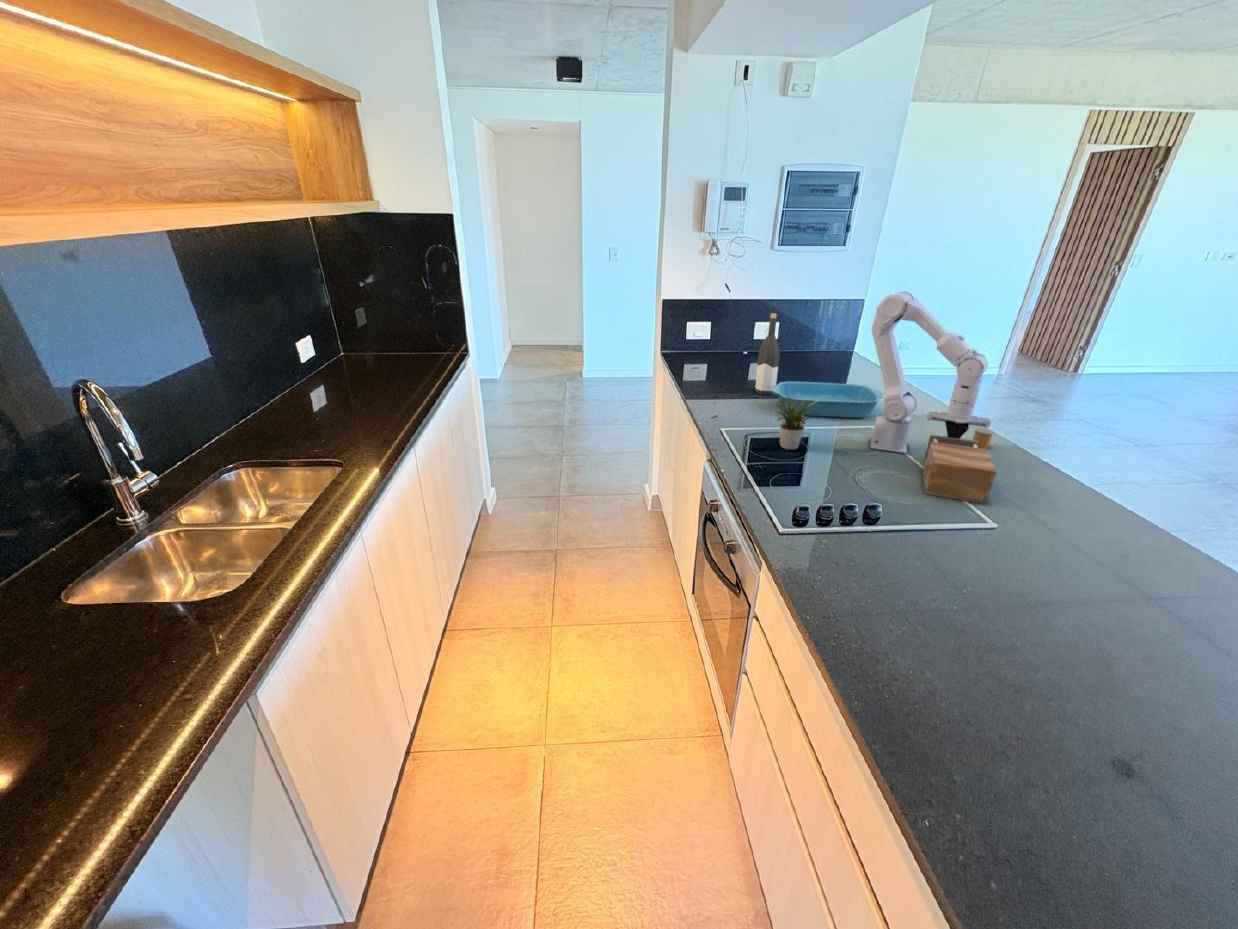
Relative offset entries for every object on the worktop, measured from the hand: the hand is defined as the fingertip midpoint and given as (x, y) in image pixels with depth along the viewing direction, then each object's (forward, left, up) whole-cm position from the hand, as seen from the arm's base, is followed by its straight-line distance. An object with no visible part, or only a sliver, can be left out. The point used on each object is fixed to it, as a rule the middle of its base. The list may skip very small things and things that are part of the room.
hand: (950, 447), depth 146 cm
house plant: (-43, -7, -4) cm, 44 cm away
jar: (+10, +17, -4) cm, 20 cm away
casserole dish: (-36, +33, -4) cm, 49 cm away
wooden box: (0, -17, -4) cm, 18 cm away
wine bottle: (-59, +46, -4) cm, 75 cm away
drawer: (0, -6, -3) cm, 7 cm away
